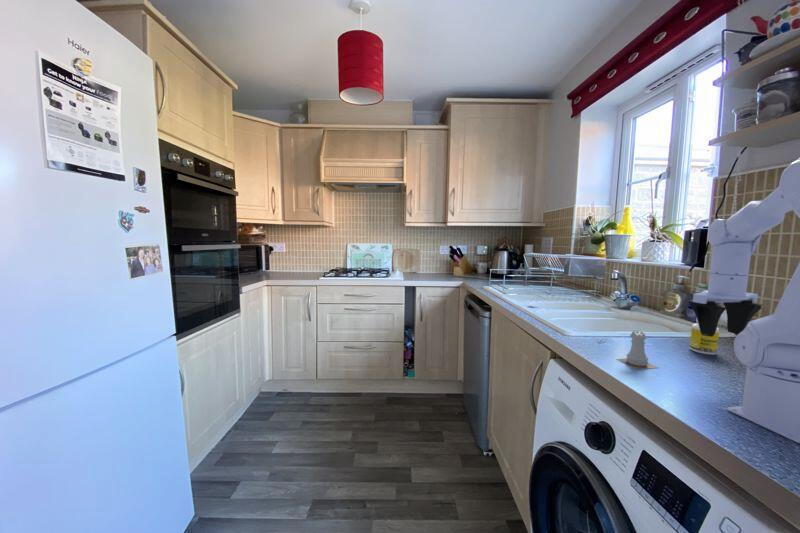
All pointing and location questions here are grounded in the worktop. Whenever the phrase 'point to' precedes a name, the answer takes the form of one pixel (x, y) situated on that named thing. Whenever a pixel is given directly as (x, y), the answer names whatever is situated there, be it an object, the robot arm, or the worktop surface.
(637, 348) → the rook chess piece
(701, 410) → the worktop surface
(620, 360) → the walnut tile
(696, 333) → the supplement bottle
